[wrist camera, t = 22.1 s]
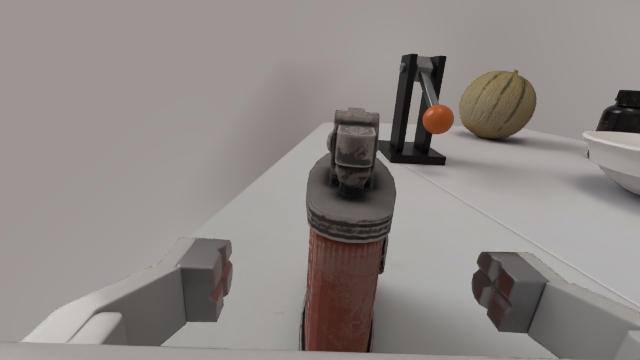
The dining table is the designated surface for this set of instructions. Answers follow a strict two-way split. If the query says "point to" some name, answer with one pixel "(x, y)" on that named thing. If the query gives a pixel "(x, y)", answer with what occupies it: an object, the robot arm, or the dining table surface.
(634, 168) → the bowl
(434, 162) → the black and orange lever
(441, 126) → the switch
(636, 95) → the supplement bottle
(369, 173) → the lighter
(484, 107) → the cantaloupe
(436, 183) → the dining table surface
